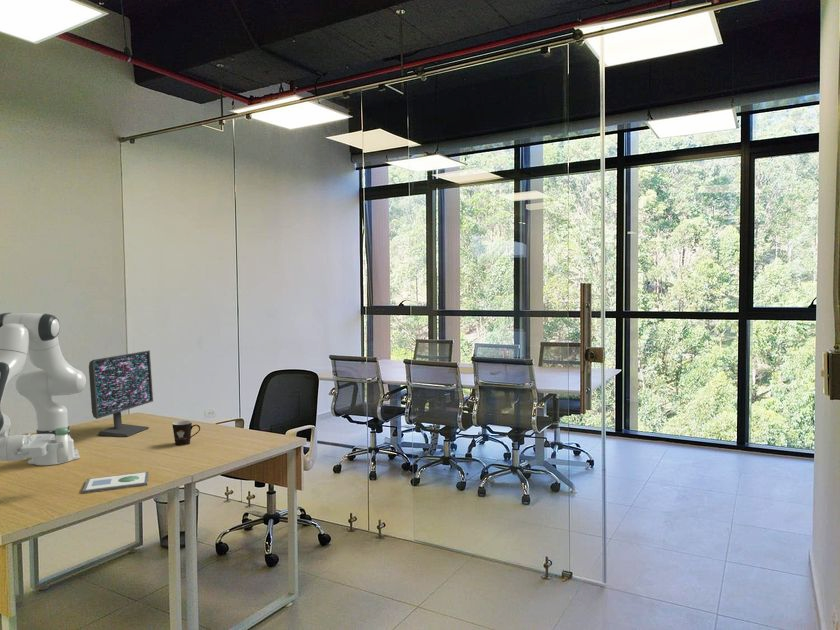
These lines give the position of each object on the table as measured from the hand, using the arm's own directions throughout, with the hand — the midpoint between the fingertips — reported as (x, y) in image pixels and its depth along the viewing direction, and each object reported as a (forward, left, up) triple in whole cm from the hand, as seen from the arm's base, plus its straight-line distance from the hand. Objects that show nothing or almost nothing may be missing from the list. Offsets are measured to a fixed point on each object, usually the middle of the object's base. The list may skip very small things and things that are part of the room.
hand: (65, 443), depth 209 cm
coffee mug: (-49, +41, -17) cm, 66 cm away
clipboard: (0, +16, -17) cm, 23 cm away
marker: (0, -1, -6) cm, 7 cm away
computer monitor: (-87, +13, -17) cm, 90 cm away
